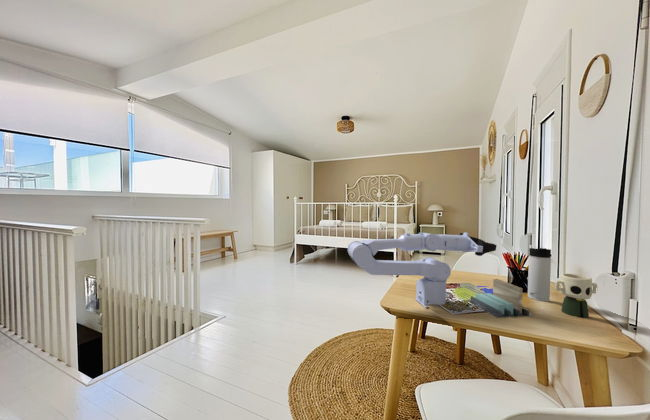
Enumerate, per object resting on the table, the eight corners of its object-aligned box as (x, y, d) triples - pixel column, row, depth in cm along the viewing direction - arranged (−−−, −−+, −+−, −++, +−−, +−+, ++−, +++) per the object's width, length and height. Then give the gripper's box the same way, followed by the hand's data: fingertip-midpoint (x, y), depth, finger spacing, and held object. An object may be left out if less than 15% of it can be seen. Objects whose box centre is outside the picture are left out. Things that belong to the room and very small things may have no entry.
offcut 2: (507, 313, 81) (508, 304, 81) (484, 301, 91) (484, 293, 91) (513, 313, 81) (513, 304, 81) (489, 301, 91) (489, 293, 91)
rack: (496, 320, 78) (497, 312, 78) (465, 303, 92) (466, 296, 92) (534, 318, 80) (534, 310, 80) (498, 301, 94) (498, 294, 94)
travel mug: (531, 302, 93) (533, 248, 92) (525, 296, 99) (526, 245, 98) (553, 305, 90) (555, 249, 90) (545, 299, 97) (546, 246, 96)
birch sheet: (517, 313, 81) (518, 288, 81) (492, 301, 91) (493, 279, 91) (521, 313, 81) (522, 288, 81) (496, 301, 91) (497, 279, 91)
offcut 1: (498, 314, 80) (498, 305, 80) (475, 302, 90) (476, 293, 90) (504, 314, 81) (504, 304, 80) (481, 301, 90) (481, 293, 90)
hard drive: (511, 297, 95) (498, 287, 107) (486, 295, 97) (476, 285, 109) (511, 301, 95) (498, 291, 107) (486, 299, 97) (476, 289, 109)
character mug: (561, 319, 80) (562, 277, 79) (547, 310, 86) (549, 271, 86) (604, 323, 77) (606, 281, 76) (587, 314, 84) (588, 274, 83)
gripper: (466, 236, 84) (505, 238, 85) (442, 227, 98) (475, 229, 99) (463, 257, 85) (501, 259, 86) (440, 245, 99) (472, 247, 100)
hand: (487, 244), depth 93 cm, fingers open, 7 cm apart
